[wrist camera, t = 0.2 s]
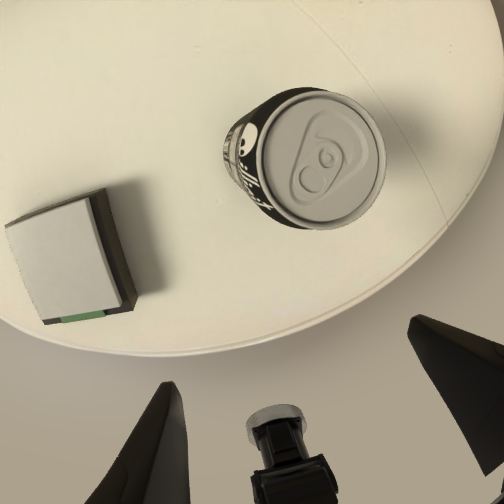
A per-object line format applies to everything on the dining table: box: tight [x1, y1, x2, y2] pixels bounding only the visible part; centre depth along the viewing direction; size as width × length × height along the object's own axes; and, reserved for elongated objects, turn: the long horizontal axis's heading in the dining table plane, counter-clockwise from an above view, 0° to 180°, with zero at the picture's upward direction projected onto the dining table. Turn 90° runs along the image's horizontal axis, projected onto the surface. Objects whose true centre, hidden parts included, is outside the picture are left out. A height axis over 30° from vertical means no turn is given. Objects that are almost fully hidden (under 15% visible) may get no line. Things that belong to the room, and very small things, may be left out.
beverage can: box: [223, 87, 387, 230], centre depth 16 cm, size 7×7×12 cm
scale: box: [5, 188, 138, 325], centre depth 20 cm, size 10×10×3 cm
